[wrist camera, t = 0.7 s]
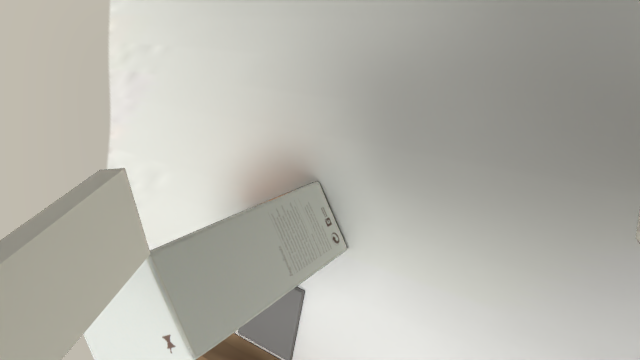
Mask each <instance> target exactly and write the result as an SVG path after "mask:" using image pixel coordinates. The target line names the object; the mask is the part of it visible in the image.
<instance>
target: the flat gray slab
mask: <svg viewBox="0 0 640 360" xmlns="http://www.w3.org/2000/svg"><path fill="white" fill-rule="evenodd" d="M304 293H305V291H304V290H302V289H300V288H298V287H295V288H294V289H292V290H291V291H290V292H288V293H287V294H286V295H284V296H283V297H281V298H280V299H279V300H277V301H276V302H275V303H273V304H272V305H271V306H269V307H268V308H267V309H265V310H264V311H262V312H261V313H260V314H258V315H257V316H255V317H254V318H253V319H251V320H250V321H249V322H247V323H246V324H244V325H243V326H242V327H240V328H239V331H238V333H239V334H241V335H243V336H244V337H246V338H248V339H250V340H252V341H253V342H255V343H257V344H259V345H260V346H262V347H264V348H266V349H268V350H269V351H271V352H273V353H275V354H276V355H278V356H280V357H282V358H284V359H285V360H291V359H292V355H293V349H294V344H295V339H296V334H297V329H298V324H299V319H300V313H301V308H302V303H303V298H304Z"/></svg>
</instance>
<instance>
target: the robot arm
mask: <svg viewBox="0 0 640 360" xmlns="http://www.w3.org/2000/svg"><path fill="white" fill-rule="evenodd" d="M636 240H637V241H638V242H639V243H640V210H639V217H638V224H637V231H636ZM149 255H150V250H149V247H148V244H147V240H146V237H145V234H144V230H143V227H142V224H141V220H140V217H139V214H138V210H137V207H136V204H135V200H134V197H133V194H132V190H131V187H130V184H129V180H128V177H127V174H126V170H125V168H120V169H105V170H99V171H97V172H96V173H95V174H93V175H92V176H91V177H89V178H88V179H86V180H85V181H83V182H82V183H81V184H79V185H78V186H76V187H75V188H73V189H72V190H71V191H69V192H68V193H66V194H65V195H64V196H62V197H61V198H59V199H58V200H57V201H55V202H54V203H53V204H51V205H49V206H48V207H47V208H45V209H44V210H42V211H41V212H40V213H38V214H37V215H35V216H34V217H33V218H32V219H30V220H28V221H27V222H26V223H24V224H23V225H21V226H20V227H18V228H17V229H16V230H14V231H13V232H11V233H10V234H9V235H7V236H6V237H5V238H3V239H2V240H0V360H62V359H63V357H64V356H65V355H66V354H67V353H68V352H69V350H70V349H71V348H72V347H73V346H74V344H75V343H76V342H77V341H78V340H79V339H80V337H81V336H82V335H83V334H84V333H85V331H86V330H87V329H88V328H89V327H90V325H91V324H92V323H93V322H94V321H95V320H96V318H97V317H98V316H99V315H100V314H101V312H102V311H103V310H104V309H105V308H106V306H107V305H108V304H109V303H110V302H111V300H112V299H113V298H114V297H115V296H116V294H117V293H118V292H119V291H120V290H121V289H122V287H123V286H124V285H125V284H126V283H127V281H128V280H129V279H130V278H131V277H132V275H133V274H134V273H135V272H136V271H137V269H138V268H139V267H140V266H141V265H142V263H143V262H144V261H145V260H146V259H147V258H148V256H149Z"/></svg>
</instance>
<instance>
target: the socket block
mask: <svg viewBox="0 0 640 360" xmlns="http://www.w3.org/2000/svg"><path fill="white" fill-rule="evenodd" d="M196 360H280V359H278V358H276V357H275V356H273V355H271V354H269V353H268V352H266V351H264V350H262V349H260V348H259V347H257V346H255V345H253V344H252V343H250V342H248V341H246V340H245V339H243V338H241V337H239V336H237V335H236V334H234V333H233V334H231V335H230V336H229V337H227V338H226V339H225V340H223V341H222V342H220V343H219V344H218V345H216V346H215V347H213V348H212V349H210V350H209V351H208V352H206V353H205V354H203V355H202V356H200V357H199V358H197V359H196Z"/></svg>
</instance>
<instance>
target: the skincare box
mask: <svg viewBox="0 0 640 360" xmlns="http://www.w3.org/2000/svg"><path fill="white" fill-rule="evenodd" d="M346 250H347V247H346V244H345V242H344V240H343V237H342V235H341V232H340V230H339V228H338V226H337V224H336V221H335V219H334V216H333V214H332V212H331V210H330V208H329V205H328V203H327V200H326V198H325V196H324V193H323V191H322V188H321V186H320V184H319V183H318V182H313V183H310V184H308V185H306V186H303V187H301V188H298V189H296V190H293V191H291V192H288V193H286V194H283V195H281V196H279V197H276V198H274V199H271V200H269V201H266V202H264V203H261V204H259V205H256V206H254V207H251V208H249V209H247V210H244V211H242V212H239V213H237V214H235V215H232V216H230V217H227V218H225V219H223V220H220V221H218V222H216V223H213V224H211V225H209V226H206V227H204V228H202V229H199V230H197V231H195V232H192V233H190V234H188V235H185V236H183V237H181V238H178V239H176V240H174V241H171V242H169V243H167V244H164V245H162V246H160V247H157V248H155V249H153V250H150V255H149V256H148V258H147V259H146V260H145V261H144V262H143V263H142V265H141V266H140V267H139V268H138V269H137V271H136V272H135V273H134V274H133V275H132V277H131V278H130V279H129V280H128V281H127V283H126V284H125V285H124V286H123V287H122V289H121V290H120V291H119V292H118V293H117V294H116V296H115V297H114V298H113V299H112V300H111V302H110V303H109V304H108V305H107V306H106V308H105V309H104V310H103V311H102V312H101V314H100V315H99V316H98V317H97V318H96V320H95V321H94V322H93V323H92V324H91V325H90V327H89V328H88V329H87V330H86V331H85V333H84V337H85V339H86V341H87V344H88V346H89V348H90V351H91V353H92V356H93V358H94V360H196V359H197V358H199V357H200V356H202V355H203V354H205V353H206V352H208V351H209V350H210V349H212V348H213V347H215V346H216V345H218V344H219V343H220V342H222V341H223V340H225V339H226V338H227V337H229V336H230V335H231V334H233V333H234V332H235V331H236V330H238V329H239V328H240V327H242V326H243V325H244V324H246V323H247V322H249V321H250V320H251V319H253V318H254V317H255V316H257V315H258V314H260V313H261V312H262V311H264V310H265V309H267V308H268V307H269V306H271V305H272V304H273V303H275V302H276V301H277V300H279V299H280V298H281V297H283V296H284V295H286V294H287V293H288V292H290V291H291V290H292V289H294V288H295V287H297V286H298V285H299V284H301V283H302V282H303V281H305V280H306V279H308V278H309V277H310V276H312V275H313V274H314V273H316V272H317V271H319V270H320V269H321V268H323V267H324V266H326V265H327V264H328V263H329V262H331V261H332V260H334V259H335V258H336V257H338V256H339V255H340V254H342V253H343V252H345V251H346Z"/></svg>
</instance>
